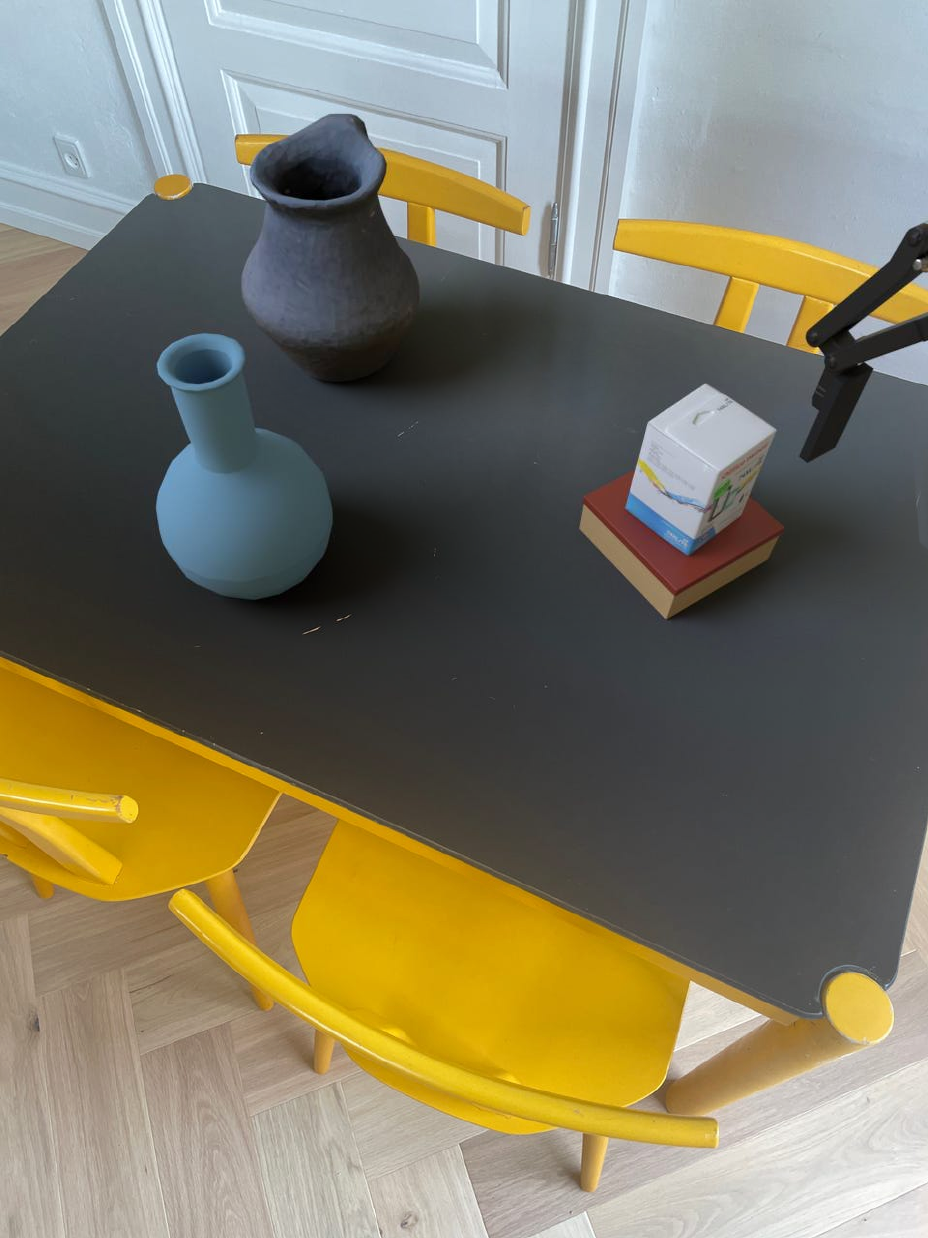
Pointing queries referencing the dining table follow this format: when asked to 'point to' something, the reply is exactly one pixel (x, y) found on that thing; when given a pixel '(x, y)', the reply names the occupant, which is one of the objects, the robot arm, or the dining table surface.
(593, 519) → the book
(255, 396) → the dining table surface
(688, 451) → the ink box
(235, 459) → the vase
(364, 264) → the pitcher
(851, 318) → the robot arm
